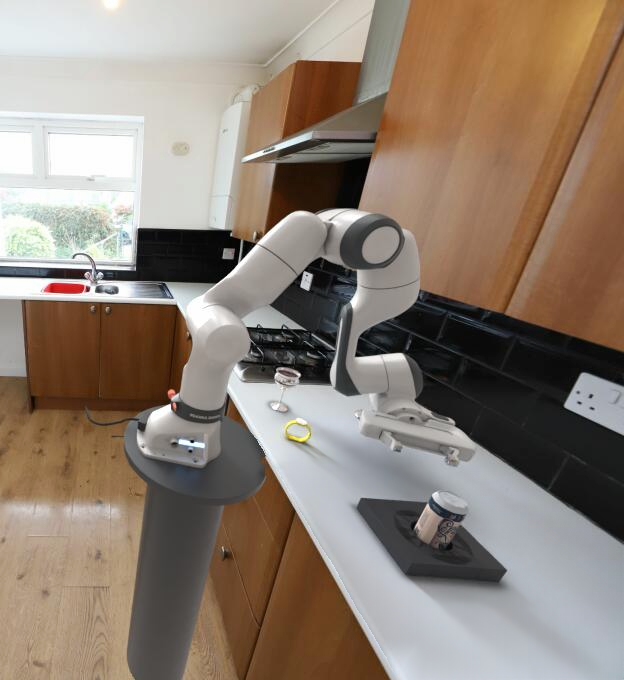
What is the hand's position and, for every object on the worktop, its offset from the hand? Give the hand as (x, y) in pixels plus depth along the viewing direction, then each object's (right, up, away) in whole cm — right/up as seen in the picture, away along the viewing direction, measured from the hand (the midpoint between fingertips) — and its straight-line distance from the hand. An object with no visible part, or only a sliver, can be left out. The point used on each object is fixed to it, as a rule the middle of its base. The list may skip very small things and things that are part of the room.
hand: (425, 456), depth 72 cm
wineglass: (-12, +3, +37) cm, 39 cm away
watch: (-15, -3, +22) cm, 27 cm away
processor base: (-5, -15, -5) cm, 16 cm away
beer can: (-5, -15, -6) cm, 17 cm away
